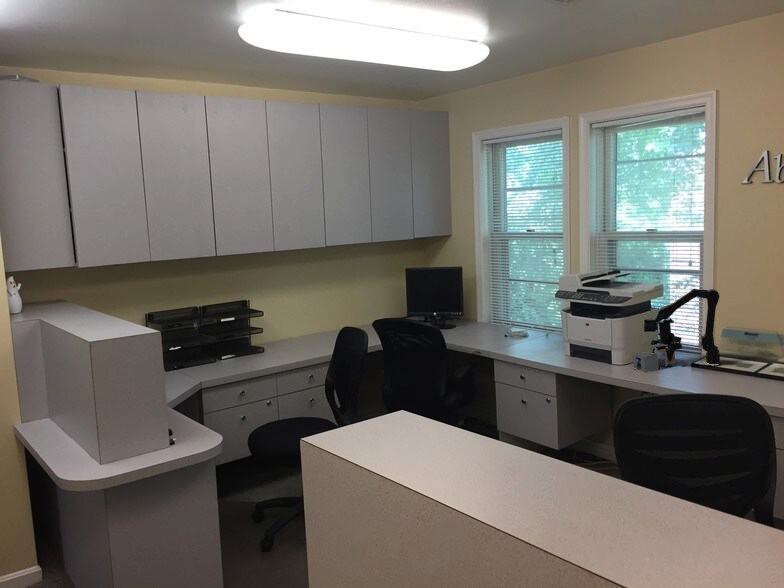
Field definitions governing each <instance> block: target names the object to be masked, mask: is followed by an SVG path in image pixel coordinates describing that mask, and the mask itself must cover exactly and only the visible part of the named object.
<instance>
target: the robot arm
mask: <svg viewBox="0 0 784 588" xmlns="http://www.w3.org/2000/svg"><path fill="white" fill-rule="evenodd" d="M695 298H700V299H706V303H707V304H706V305H707V311H706V320H705V321H706V322H705V328H704V329H705V330H704V331H705V332H704V335H702V334H701V335H700V345H701V348H702V350H703V351H704V352H705V363H706V362H707V363H709V364H719V363H721V355H720V349H719V347H718V346H716V345H715V339H714V329H715V328H714V327H715V318H716V308H717V307H718V304H719V299H720V293H719V291H718V290H717V289H714V288H711V289H700V288H699V289H697V288H692V289H691V290H690V291H689V292H687V293H685V294H684V295H682V296H681V297H679V298H678V299H676V300H675V301H673V302H671V303H670V304H668V305H664V306H663V307H662V306H661V308H659V309H658V311H657V312H658V313H657V315H656V317H655V318H654V319H647V318H646V319H643V321H644V323H643V331H644V332H656V331H658V332H659V333H658V335H659V339H654V340H652V341H651V345H653V346H655V344H656V346H655V348H656V349H657V350H662V349H665V350H666V352H667V356H668V359H669V361H671V360H672V357H673V354H674V352H676V351H677V350H681V349H683V344H682V338H683V337H681V336H677V335H675V334H674V332H672V327H671V324H674V323H675V320H673V319H672V318H671V316H672V315H673V314H674V313H675V312H676V311H677V310H679V309H680V308H681V307H683V306H684V305H686V304H688V303H690V301H692V300H694V299H695Z"/></svg>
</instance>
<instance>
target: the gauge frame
mask: <svg viewBox="0 0 784 588" xmlns="http://www.w3.org/2000/svg"><path fill="white" fill-rule="evenodd" d="M640 361H641V365H640ZM632 364H633V365H632V366H633V369H634V368H636V369H640V370H641V372H642V371H644V372H643V373H648V371H651V372H655V371H659V364H658V356H657V355H656V353H648V352H642V351H641V352H639V353H638V352H637V353H632Z"/></svg>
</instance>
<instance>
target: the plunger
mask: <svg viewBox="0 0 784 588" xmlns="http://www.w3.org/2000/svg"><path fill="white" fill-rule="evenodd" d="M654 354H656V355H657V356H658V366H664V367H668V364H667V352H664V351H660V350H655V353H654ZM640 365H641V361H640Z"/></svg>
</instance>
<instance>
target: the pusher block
mask: <svg viewBox="0 0 784 588" xmlns="http://www.w3.org/2000/svg"><path fill="white" fill-rule="evenodd" d="M660 351H664V352H666V350H665V349H662V350H660ZM675 352H676V351H674V354H673V357H672V360H671V361H669V359H668V356H667V365H670V364H675V363H676V354H675Z"/></svg>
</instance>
